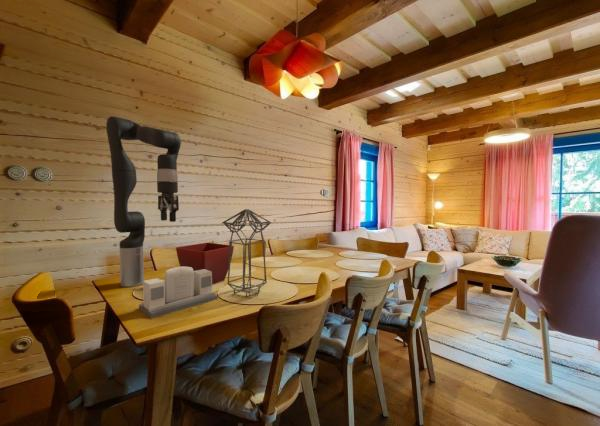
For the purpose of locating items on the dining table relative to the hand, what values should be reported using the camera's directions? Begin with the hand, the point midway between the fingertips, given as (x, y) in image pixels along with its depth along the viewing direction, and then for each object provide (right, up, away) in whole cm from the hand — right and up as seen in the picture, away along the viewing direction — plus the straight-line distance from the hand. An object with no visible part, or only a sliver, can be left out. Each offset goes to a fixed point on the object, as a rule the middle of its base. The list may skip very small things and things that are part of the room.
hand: (168, 221), depth 114 cm
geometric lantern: (+32, -30, +2) cm, 44 cm away
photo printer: (+9, -29, -9) cm, 32 cm away
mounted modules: (+9, -29, -10) cm, 32 cm away
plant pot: (+9, -30, +19) cm, 36 cm away
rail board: (+9, -31, -9) cm, 33 cm away
